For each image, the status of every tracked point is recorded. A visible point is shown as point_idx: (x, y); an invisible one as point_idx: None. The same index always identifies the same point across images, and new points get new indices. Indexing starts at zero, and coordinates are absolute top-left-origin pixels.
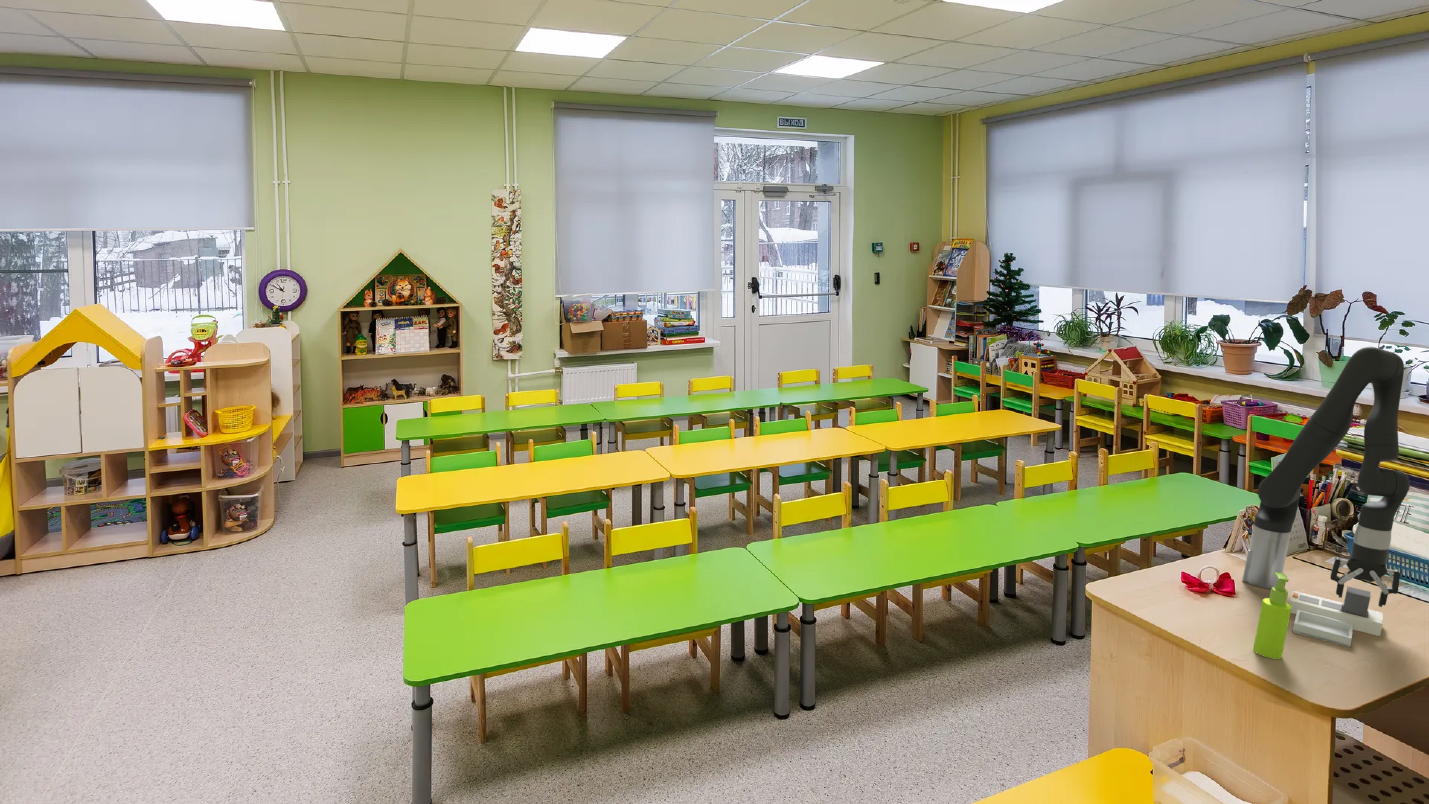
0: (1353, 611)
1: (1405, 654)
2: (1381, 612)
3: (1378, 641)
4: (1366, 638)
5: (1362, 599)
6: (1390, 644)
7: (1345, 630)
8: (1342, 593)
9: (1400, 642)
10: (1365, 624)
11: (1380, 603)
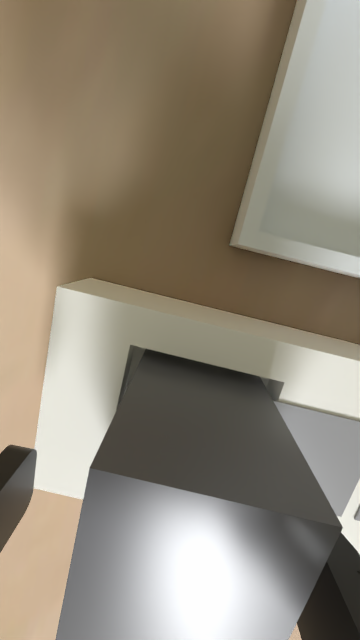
0: (212, 384)
1: (2, 55)
2: (35, 487)
3: (111, 194)
4: (165, 205)
5: (169, 449)
6: (58, 184)
7: (265, 227)
8: None
9: (6, 249)
10: (153, 301)
11: (8, 466)
